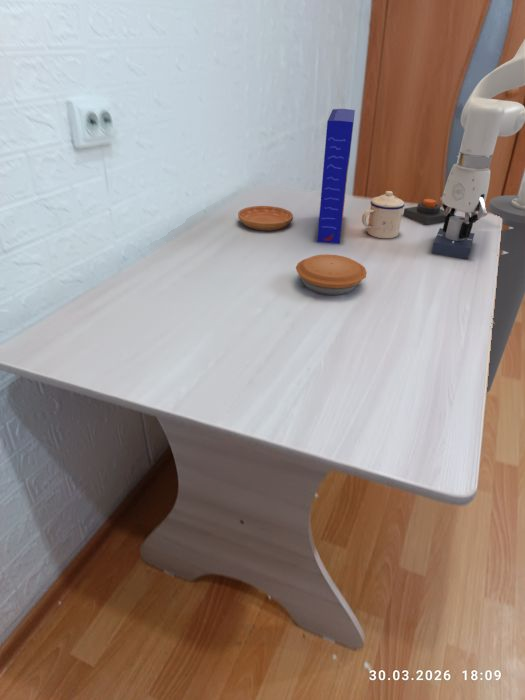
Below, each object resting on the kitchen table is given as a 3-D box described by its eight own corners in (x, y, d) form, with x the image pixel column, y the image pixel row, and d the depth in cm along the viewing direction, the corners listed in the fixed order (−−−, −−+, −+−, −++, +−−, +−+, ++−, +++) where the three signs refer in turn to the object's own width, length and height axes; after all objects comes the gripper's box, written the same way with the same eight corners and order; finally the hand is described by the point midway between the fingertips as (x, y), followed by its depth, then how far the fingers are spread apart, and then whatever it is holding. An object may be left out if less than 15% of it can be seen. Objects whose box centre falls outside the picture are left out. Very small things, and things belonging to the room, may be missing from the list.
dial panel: (437, 238, 133) (439, 227, 131) (471, 243, 130) (474, 232, 128) (431, 253, 124) (434, 241, 122) (467, 259, 121) (471, 247, 119)
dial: (444, 238, 124) (448, 218, 121) (446, 233, 128) (451, 213, 125) (463, 241, 123) (468, 221, 120) (465, 236, 126) (470, 216, 123)
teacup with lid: (386, 226, 141) (392, 185, 134) (405, 236, 134) (413, 194, 127) (351, 231, 137) (356, 189, 130) (369, 242, 130) (375, 199, 123)
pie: (288, 294, 103) (289, 273, 100) (302, 266, 115) (303, 246, 113) (360, 304, 100) (364, 282, 97) (367, 274, 112) (370, 254, 109)
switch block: (426, 211, 154) (429, 198, 151) (450, 220, 146) (453, 207, 144) (403, 215, 150) (405, 202, 147) (425, 225, 142) (428, 211, 140)
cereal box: (339, 243, 128) (353, 121, 112) (317, 241, 129) (327, 119, 113) (342, 218, 146) (355, 109, 130) (323, 216, 147) (332, 108, 131)
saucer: (295, 217, 146) (295, 207, 145) (289, 235, 133) (289, 224, 131) (243, 213, 148) (243, 203, 146) (233, 230, 135) (232, 220, 133)
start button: (429, 203, 148) (430, 198, 147) (437, 207, 145) (438, 201, 144) (420, 205, 147) (421, 199, 146) (428, 208, 144) (430, 202, 143)
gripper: (436, 155, 120) (421, 226, 130) (491, 170, 107) (470, 247, 117) (458, 152, 123) (442, 222, 133) (514, 167, 110) (491, 243, 120)
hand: (455, 233), depth 125 cm, fingers closed on dial, 4 cm apart
